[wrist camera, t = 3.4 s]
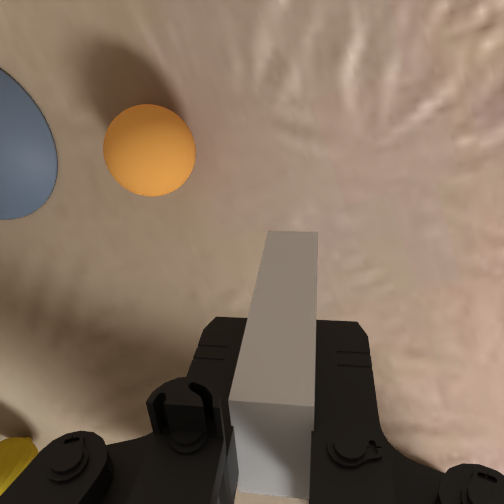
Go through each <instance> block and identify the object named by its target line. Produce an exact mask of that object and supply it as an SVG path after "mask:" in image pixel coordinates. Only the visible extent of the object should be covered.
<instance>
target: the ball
mask: <svg viewBox="0 0 504 504" xmlns="http://www.w3.org/2000/svg"><path fill="white" fill-rule="evenodd" d="M103 152H104V158H105V162H106V165H107V167H108V169H109V171H110V173H111V174H112V176H113V177H114V179H115V180H116V181H117V182H118V183H119V184H120V185H121V186H123V187H124V188H126V189H127V190H129V191H131V192H133V193H135V194H139V195H143V196H151V197H152V196H161V195H165V194H168V193H170V192H172V191H174V190H176V189H177V188H179V187H180V186H181V185H182V184H183V183H184V182H185V181H186V180H187V178H188V177H189V175H190V173H191V172H192V169H193V167H194V163H195V157H196V148H195V142H194V139H193V136H192V133H191V131H190V129H189V128H188V126H187V125H186V123H185V122H184V121H183V120H182V119H181V118H180V117H179V116H178V115H177V114H176V113H174V112H172V111H171V110H169V109H167V108H165V107H162V106H159V105H153V104H141V105H136V106H133V107H130V108H128V109H126V110H124V111H123V112H121V113H120V114H119V115H117V116H116V117H115V118H114V120H113V121H112V122H111V124H110V125H109V127H108V129H107V131H106V134H105V138H104V144H103Z"/></svg>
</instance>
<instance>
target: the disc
mask: <svg viewBox="0 0 504 504" xmlns="http://www.w3.org/2000/svg"><path fill="white" fill-rule="evenodd" d="M57 168H58V161H57V151H56V147H55V142H54V139H53V136H52V133H51V130H50V128H49V126H48V124H47V121H46V119H45V117H44V116H43V114H42V112H41V111H40V109H39V107H38V106H37V105H36V103H35V102H34V101H33V99H32V98H31V96H30V95H29V94H28V93H27V92H26V91H25V90H24V89H23V87H22V86H21V85H19V84H18V83H17V82H16V81H15V80H14V79H13V78H12V77H11V76H9V75H8V74H7V73H5V72H4V71H3V70H1V69H0V220H8V219H16V218H21V217H24V216H26V215H29V214H31V213H32V212H34V211H36V210H37V209H38V208H39V207H41V206H42V205H43V204H44V203H45V202H46V200H47V199H48V198H49V196H50V194H51V193H52V191H53V188H54V185H55V182H56V177H57Z"/></svg>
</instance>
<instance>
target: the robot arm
mask: <svg viewBox="0 0 504 504" xmlns="http://www.w3.org/2000/svg"><path fill="white" fill-rule="evenodd" d="M317 258H318V232H294V231H268V234H267V239H266V243H265V247H264V251H263V256H262V260H261V264H260V268H259V272H258V277H257V281H256V285H255V289H254V294H253V298H252V302H251V306H250V311H249V315H248V318H233V317H215V318H214V319H213V320H212V321H211V322H210V323H209V324H208V326H207V327H206V328H205V329H204V330H203V332H202V335H201V338H200V341H199V343H198V348H197V349H196V352H195V354H194V359H193V360H192V363H191V366H190V368H189V371H188V374H187V377H182V378H176V379H174V380H171V381H168V382H166V383H164V384H163V385H161V386H160V387H159V388H157V389H156V390H155V391H153V393H152V394H151V396H150V397H149V398H148V400H147V401H146V405H147V409H148V413H149V417H150V421H151V425H152V429H153V432H152V433H150V434H148V435H146V436H143V437H140V438H137V439H133V440H128V441H124V442H119V443H114V444H109V445H106V444H105V442H104V440H103V438H101V437H100V436H98V435H97V434H95V433H94V432H87V431H77V432H72V433H68V434H65V435H63V436H61V437H59V438H57V439H55V440H53V441H52V442H51V443H49V444H48V445H47V446H46V447H45V448H44V449H43V450H41V451H40V452H39V453H38V454H37V456H36V457H35V458H34V459H33V460H32V461H31V462H30V463H29V464H28V466H27V467H26V468H25V469H24V470H23V471H22V472H21V473H20V475H19V476H18V477H17V478H16V479H15V480H14V481H13V482H12V483H11V485H10V486H9V487H8V488H7V489H6V490H5V491H4V492H3V493H2V495H1V496H0V504H234V499H235V493H236V488H237V482H238V487H239V492H243V493H253V494H262V495H272V496H281V497H291V498H300V499H309V504H504V475H502V474H501V473H500V472H498V471H496V470H493V469H491V468H488V467H485V466H482V465H480V464H460V465H457V466H454V467H452V468H449V469H448V470H447V472H446V473H443V472H440V471H437V470H435V469H432V468H429V467H427V466H424V465H422V464H419V463H417V462H415V461H413V460H411V459H409V458H407V457H405V456H404V455H402V454H401V453H400V452H398V451H397V450H396V449H395V448H394V447H393V446H392V445H391V444H390V443H389V442H388V441H387V439H386V437H385V436H384V434H383V432H382V429H381V426H380V422H379V415H378V408H377V400H376V393H375V386H374V378H373V371H372V363H371V356H370V348H369V341H368V336H367V334H366V333H365V332H364V330H363V329H362V327H361V326H360V325H359V323H358V322H352V321H330V320H316V306H317Z"/></svg>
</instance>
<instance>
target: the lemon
mask: <svg viewBox="0 0 504 504" xmlns="http://www.w3.org/2000/svg"><path fill="white" fill-rule="evenodd" d="M37 454H38V449H37V448H36V446H35V445H34V444H33V443H32V439H31V438H30V437H24V438H22V437H12V438H8V439H5V440H3V441H1V442H0V496H1V495H2V493H3V492H4V491H5V490H6V489H7V488H8V487H9V486H10V485H11V483H12V482H13V481H14V480H15V479H16V478H17V477H18V476H19V475H20V473H21V472H22V471H23V470H24V469H25V468H26V467H27V466H28V464H29V463H30V462H31V461H32V460H33V459H34V458H35V457H36V456H37Z"/></svg>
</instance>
